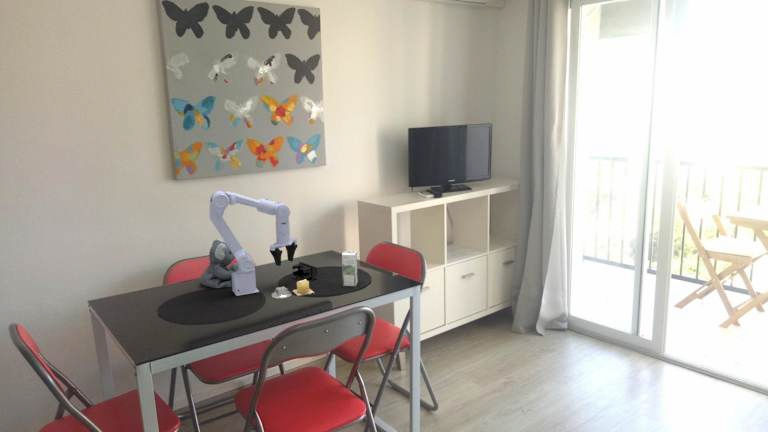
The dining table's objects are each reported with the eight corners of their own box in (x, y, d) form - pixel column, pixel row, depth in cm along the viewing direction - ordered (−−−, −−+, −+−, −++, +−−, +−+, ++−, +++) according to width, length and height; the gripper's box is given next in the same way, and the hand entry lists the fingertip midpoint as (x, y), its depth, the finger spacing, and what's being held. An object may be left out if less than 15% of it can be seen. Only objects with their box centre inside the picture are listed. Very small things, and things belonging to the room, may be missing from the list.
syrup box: (357, 282, 237) (357, 250, 234) (355, 287, 232) (355, 254, 229) (344, 282, 238) (343, 250, 235) (342, 286, 232) (341, 254, 229)
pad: (298, 296, 221) (298, 295, 221) (292, 291, 227) (292, 290, 227) (314, 293, 224) (314, 292, 224) (308, 288, 231) (308, 287, 230)
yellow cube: (304, 294, 222) (303, 283, 222) (294, 292, 225) (294, 281, 224) (311, 290, 227) (311, 279, 226) (302, 288, 229) (301, 278, 228)
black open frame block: (318, 279, 243) (317, 264, 241) (305, 283, 238) (304, 268, 237) (305, 274, 250) (304, 260, 248) (292, 278, 245) (291, 263, 244)
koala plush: (245, 286, 234) (242, 242, 230) (202, 292, 228) (198, 247, 224) (240, 275, 250) (237, 234, 246) (199, 280, 243) (196, 238, 239)
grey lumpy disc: (275, 300, 217) (274, 292, 217) (269, 294, 224) (268, 287, 224) (294, 296, 221) (293, 289, 220) (287, 290, 228) (287, 284, 227)
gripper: (278, 236, 221) (279, 268, 223) (301, 229, 233) (302, 260, 235) (265, 234, 224) (267, 266, 227) (289, 227, 236) (290, 258, 239)
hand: (284, 263), depth 231 cm, fingers open, 7 cm apart
